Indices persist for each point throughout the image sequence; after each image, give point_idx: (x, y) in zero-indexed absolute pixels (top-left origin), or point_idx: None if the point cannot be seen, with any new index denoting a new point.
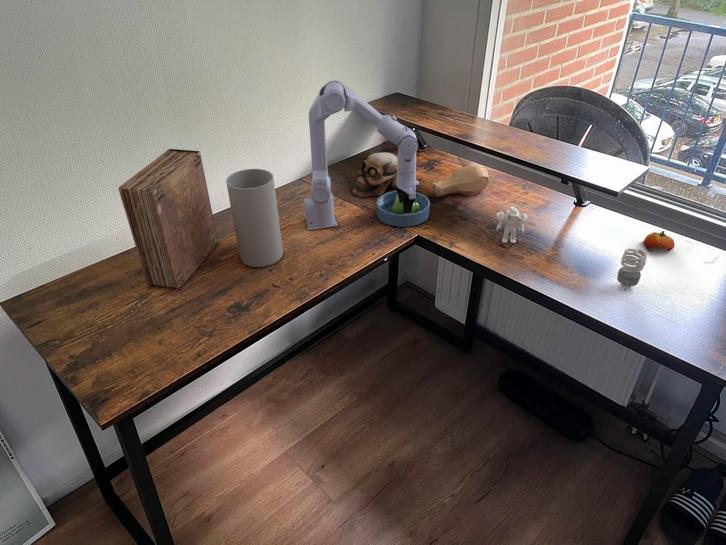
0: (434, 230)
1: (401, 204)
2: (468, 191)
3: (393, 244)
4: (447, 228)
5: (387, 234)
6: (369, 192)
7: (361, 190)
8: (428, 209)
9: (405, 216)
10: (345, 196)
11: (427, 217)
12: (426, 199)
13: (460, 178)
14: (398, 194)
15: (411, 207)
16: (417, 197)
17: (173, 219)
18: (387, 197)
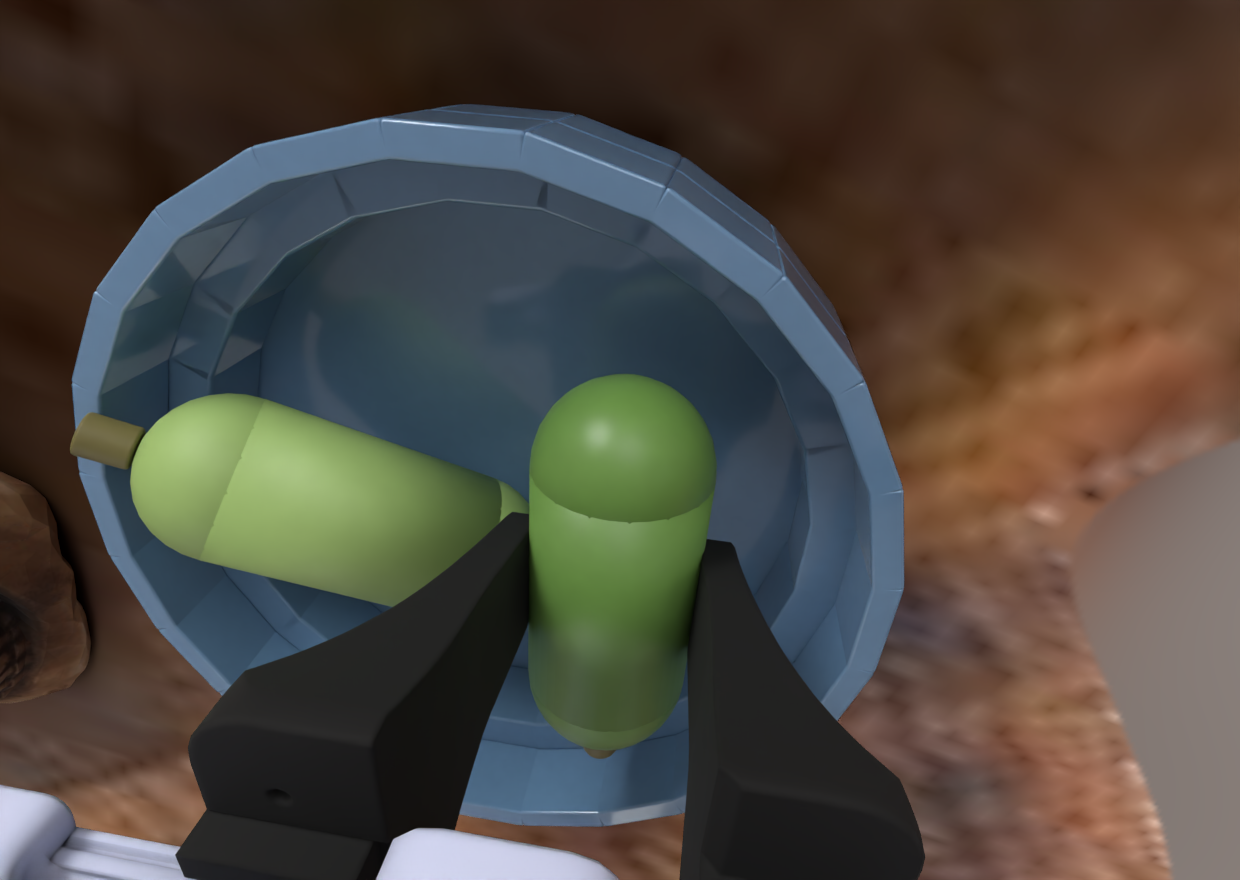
0: (1111, 261)
1: (615, 692)
2: None
3: (1069, 758)
4: (1209, 14)
5: (861, 730)
6: (33, 621)
7: (13, 684)
8: (779, 259)
9: (857, 677)
10: (84, 736)
11: (785, 244)
12: (445, 164)
13: None
14: (464, 794)
15: (748, 601)
16: (239, 219)
17: None
18: (216, 591)
